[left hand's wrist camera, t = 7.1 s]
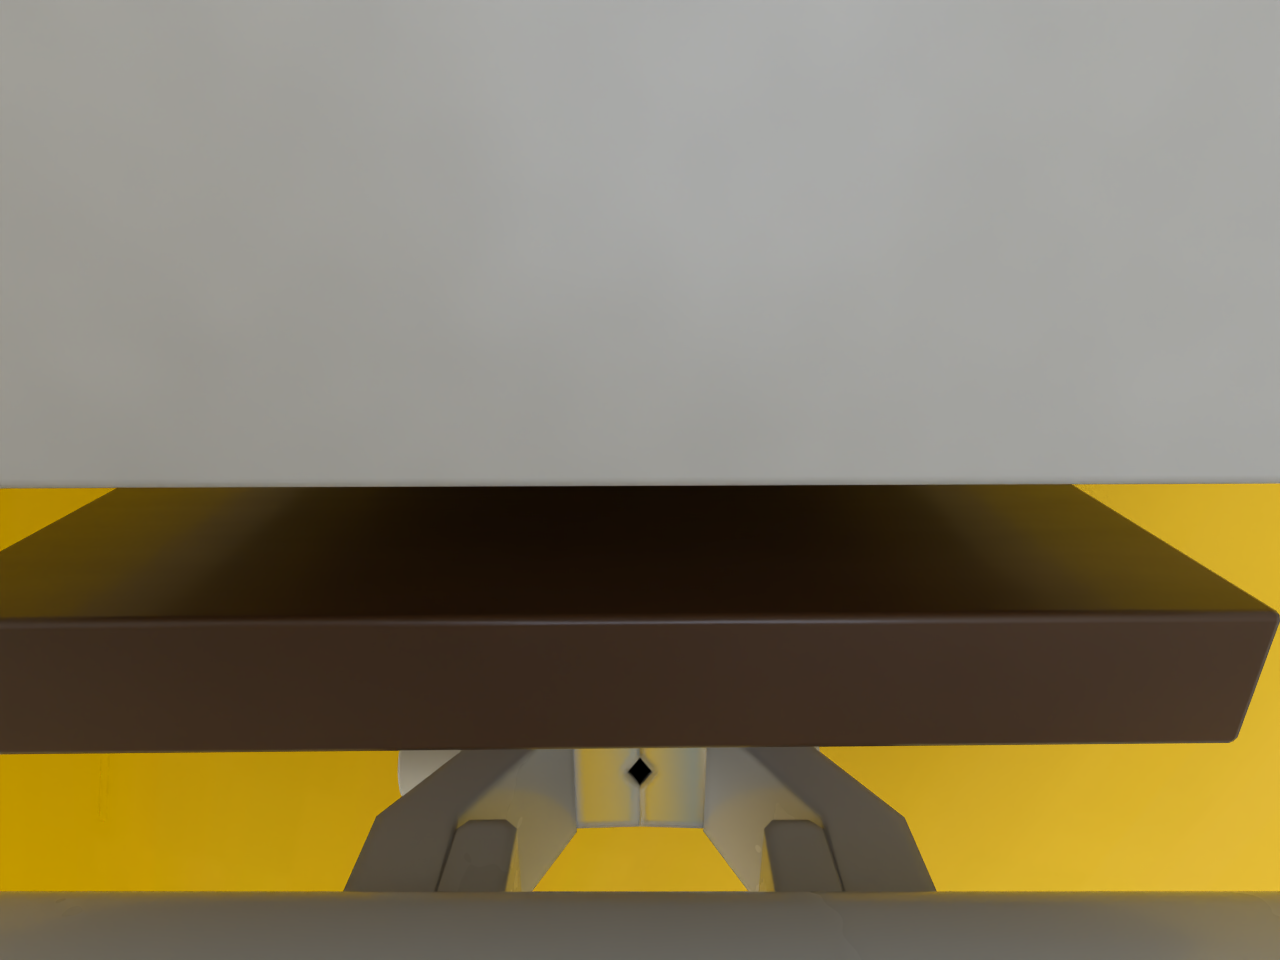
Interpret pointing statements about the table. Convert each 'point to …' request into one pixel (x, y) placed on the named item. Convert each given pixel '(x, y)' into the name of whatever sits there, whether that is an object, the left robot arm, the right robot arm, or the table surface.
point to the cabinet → (638, 242)
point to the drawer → (613, 622)
